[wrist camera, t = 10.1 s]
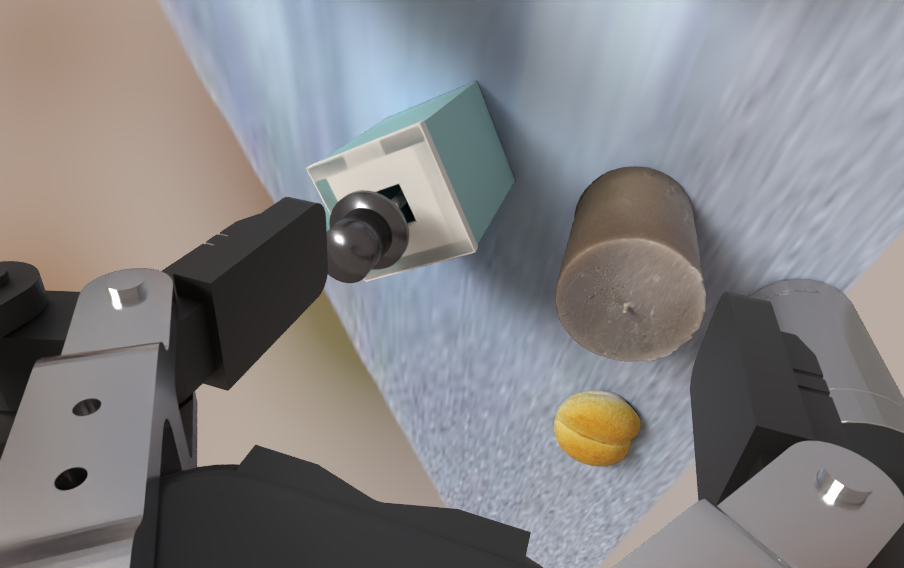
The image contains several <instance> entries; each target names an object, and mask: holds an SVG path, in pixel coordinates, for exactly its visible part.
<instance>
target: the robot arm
mask: <svg viewBox="0 0 904 568" xmlns="http://www.w3.org/2000/svg"><path fill="white" fill-rule="evenodd" d="M327 274H328V258H327V230H326V213H325V209H324V207H323V206H322V205H321V204H319V203H314V202H310V201H305V200H300V199H296V198H291V197H285V198H283V199H281V200H280V201H279V202H277V203H276V204H274V205H273V206H271V207H270V208H268V209H267V210H265V211H264V212H262V213H261V214H257V215H254V216H251V217H248V218H246V219H242V220H239V221H237V222H235V223H234V224H232V225H231V226H229V227H227V228H226V229H224V230H223V231H222V232H220V235H215V236H214V237H212V238H211V239H209V240H208V241H206V244H202V245H200V246H199V247H197V248H196V249H194V250H193V251H191V252H190V253H188V254H186V255H185V256H183V257H182V258H181V259H179V260H177V261H176V262H174V263H173V264H171V265H170V266H168V267H167V268H165V269H164V270H162V271H159V270H154V269H148V268H132V269H124V270H120V271H115V272H111V273H108V274H105V275H103V276H100V277H98V278H96V279H94V280H93V281H91V282H90V283H88V284H87V285H86V286H85V287H84V288H83V289H82V290H81V292H67V291H45V288H44V285H43V282H42V279H41V277H40V273H39V271H38V269H37V268H36V267H34V266H33V265H31V264H27V263H23V262H15V261H5V262H4V261H3V262H0V568H543V567H542V566H540V565H539V564H537V563H536V562H534V561H533V560H531V559H529V558H528V557H526V552H527V547H528V543H529V538H530V533H531V532H528V531H525V530H522V529H519V528H515V527H512V526H509V525H506V524H503V523H500V522H497V521H493V520H490V519H487V518H484V517H481V516H478V515H475V514H471V513H468V512H465V511H462V510H459V509H451V508H439V507H427V506H416V505H404V504H392V503H383V502H379V501H376V500H374V499H372V498H370V497H368V496H367V495H365V494H363V493H362V492H360V491H359V490H357V489H356V488H354V487H353V486H351V485H349V484H348V483H346V482H345V481H343V480H342V479H340V478H338V477H337V476H335V475H333V474H332V473H330V472H329V471H327V470H326V469H324V468H322V467H321V466H319V465H318V464H314V463H311V462H308V461H305V460H302V459H298V458H295V457H292V456H289V455H286V454H283V453H280V452H277V451H273V450H270V449H267V448H264V447H261V446H258V445H255V446H254V447H253V449H252V450H251V451H250V452H249V454H248V455H247V456H246V458H245V459H244V460H243V461H242V462H241V464H240V465H234V464H232V465H231V464H230V465H211V466H203V467H197V399H196V393H195V390H196V389H197V388H198V387H199V386H200V385H201V384H203V383H204V384H207V385H210V386H214V387H217V388H221V389H224V390H227V391H228V390H229V389H230V388H231V387H232V386H233V385H234V384H235V383H236V382H237V381H238V380H239V379H240V378H241V377H242V376H243V375H244V374H245V373H246V372H247V371H248V370H249V368H250V367H251V366H252V365H253V364H254V363H255V362H256V361H257V360H258V359H259V358H260V357H261V356H262V355H263V354H264V353H265V352H266V351H267V350H268V349H269V348H270V347H271V346H272V345H273V344H274V342H275V341H276V340H277V339H278V338H279V337H280V336H281V335H282V334H283V333H284V332H285V331H286V330H287V329H288V328H289V327H290V326H291V325H292V324H293V323H294V321H296V320H297V319H298V318H299V316H300V315H301V314H302V313H303V312H304V311H305V310H306V309H307V308H308V307H309V306H310V305H311V304H312V303H313V302H314V301H315V300H316V299H317V298H318V297H319V295H320V294H321V292H322V290H323V288H324V286H325V283H326V279H327ZM690 394H691V407H692V421H693V434H694V447H695V460H696V473H697V486H698V500H699V501H698V502H697V503H695V504H694V505H693V506H691V507H690V508H688V509H687V510H686V511H684V512H683V513H682V514H681V515H679V516H678V517H677V518H675V519H674V520H673V521H672V522H670V523H669V524H668V525H666V526H665V527H664V528H663V529H661V530H660V531H659V532H658V533H656V534H655V535H653V536H652V537H651V538H650V539H648V540H647V541H646V542H644V543H643V544H642V545H641V546H640V547H638V548H637V549H635V550H634V551H633V552H632V553H630V554H629V555H628V556H626V557H625V558H624V559H623V560H621V561H620V562H619V563H617V564H616V565H615V566H614V567H612V568H904V398H903V396H902V394H901V393H900V391H899V389H898V387H897V385H896V383H895V381H894V379H893V378H892V376H891V374H890V372H889V370H888V369H887V367H886V365H885V363H884V361H883V359H882V357H881V356H880V354H879V352H878V350H877V348H876V346H875V345H874V343H873V341H872V339H871V337H870V335H869V333H868V331H867V330H866V328H865V326H864V324H863V322H862V320H861V319H860V317H859V315H858V313H857V311H856V310H855V308H854V306H853V304H852V302H851V301H850V300H849V299H848V298H847V296H846V295H845V294H844V293H842V292H841V291H839V290H838V289H836V288H835V287H833V286H830V285H828V284H826V283H823V282H819V281H814V280H806V279H793V280H784V281H780V282H777V283H773V284H770V285H768V286H766V287H764V288H762V289H760V290H758V291H757V292H755V293H754V294H752V295H751V296H750V297H748V296H744V295H739V294H734V293H730V292H725V293H724V294H723V295H722V296H721V298H720V300H719V302H718V304H717V307H716V309H715V312H714V315H713V317H712V320H711V322H710V325H709V327H708V330H707V332H706V335H705V337H704V340H703V342H702V345H701V347H700V350H699V352H698V355H697V358H696V360H695V364H694V367H693V372H692V377H691V385H690Z"/></svg>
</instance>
